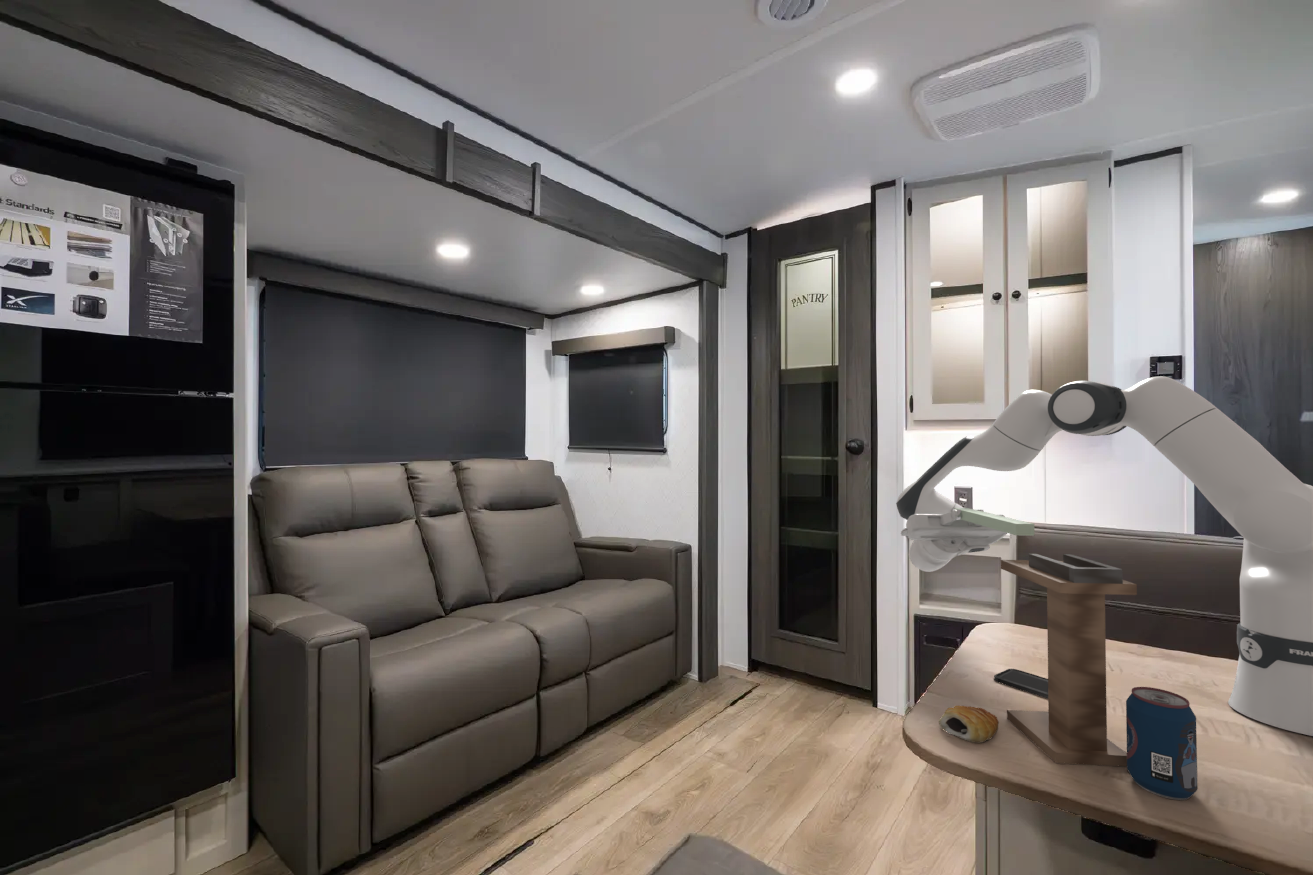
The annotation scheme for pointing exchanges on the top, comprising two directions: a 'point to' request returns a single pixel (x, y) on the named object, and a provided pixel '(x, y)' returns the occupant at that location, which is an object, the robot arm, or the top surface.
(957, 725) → the pastry
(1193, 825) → the top surface
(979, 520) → the slat
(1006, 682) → the phone
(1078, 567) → the stand
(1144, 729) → the soda can
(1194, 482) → the robot arm
